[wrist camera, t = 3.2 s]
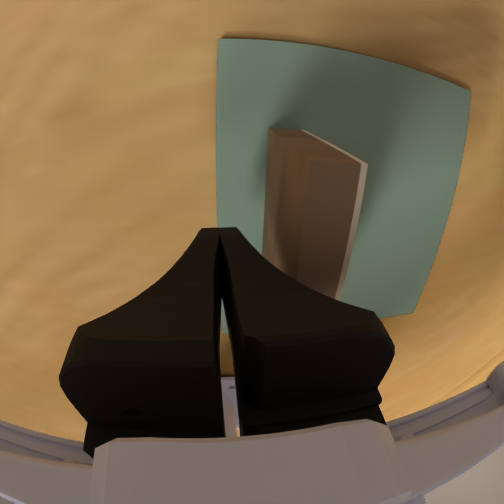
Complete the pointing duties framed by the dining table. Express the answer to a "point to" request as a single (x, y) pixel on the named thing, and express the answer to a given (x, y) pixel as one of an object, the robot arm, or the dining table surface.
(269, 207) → the tile
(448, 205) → the mat
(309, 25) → the dining table surface
